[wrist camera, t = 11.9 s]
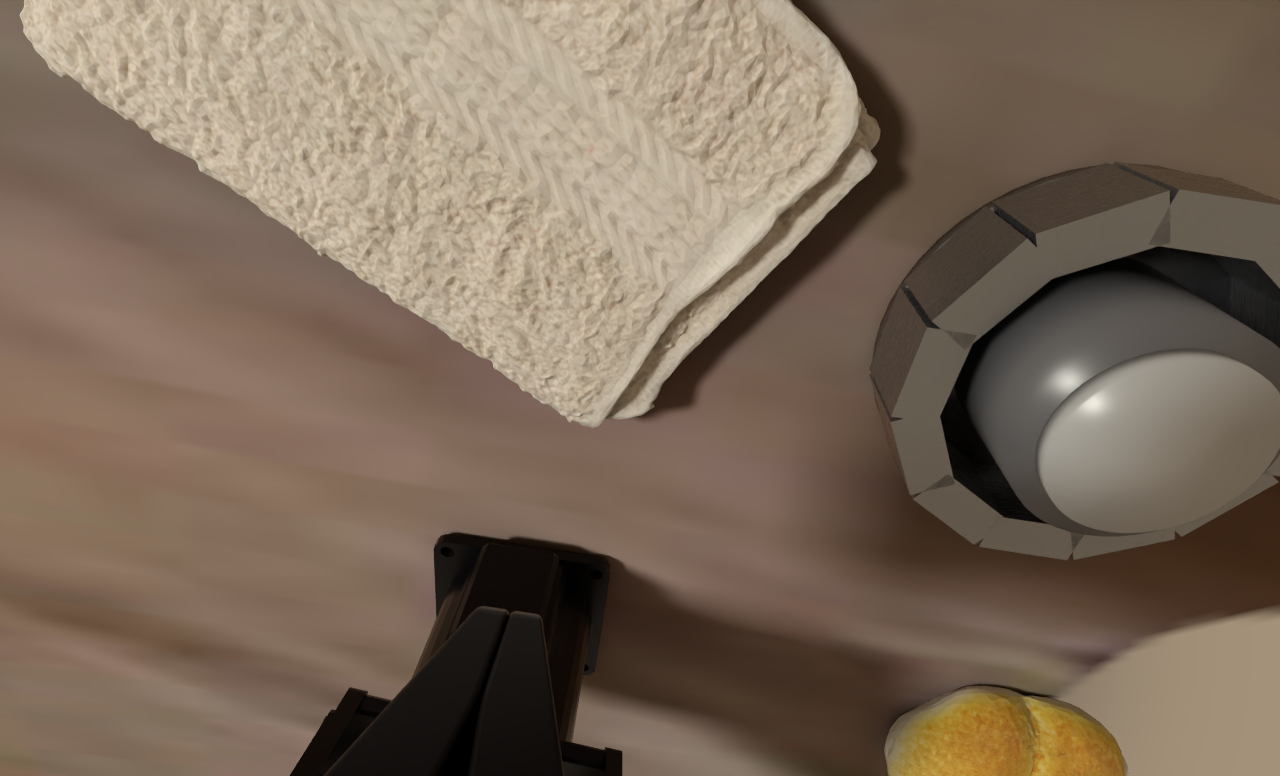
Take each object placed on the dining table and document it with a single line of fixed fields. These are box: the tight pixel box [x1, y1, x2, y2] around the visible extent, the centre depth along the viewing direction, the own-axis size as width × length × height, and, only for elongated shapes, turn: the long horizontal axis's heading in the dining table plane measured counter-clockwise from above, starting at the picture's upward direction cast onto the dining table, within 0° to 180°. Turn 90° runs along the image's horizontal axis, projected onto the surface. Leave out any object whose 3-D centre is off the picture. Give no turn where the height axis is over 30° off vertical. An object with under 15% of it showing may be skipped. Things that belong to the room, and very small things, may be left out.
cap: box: [954, 257, 1280, 537], centre depth 17 cm, size 6×6×4 cm
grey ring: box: [870, 162, 1280, 560], centre depth 18 cm, size 10×10×3 cm
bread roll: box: [884, 686, 1128, 776], centre depth 27 cm, size 8×9×4 cm
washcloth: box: [20, 0, 881, 428], centre depth 15 cm, size 12×18×3 cm, turn 53°
